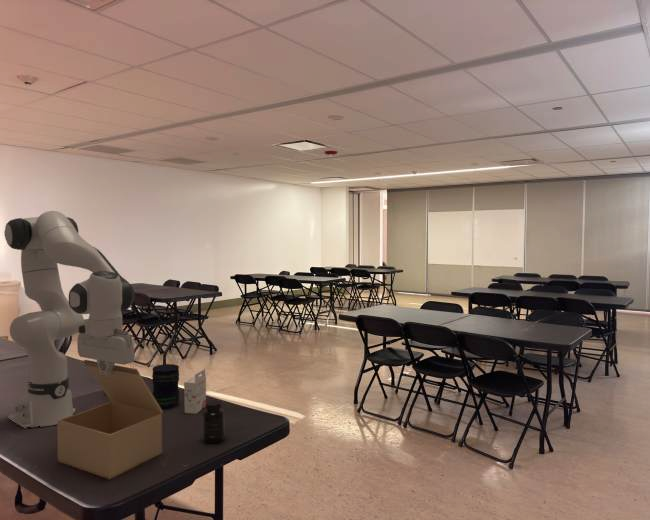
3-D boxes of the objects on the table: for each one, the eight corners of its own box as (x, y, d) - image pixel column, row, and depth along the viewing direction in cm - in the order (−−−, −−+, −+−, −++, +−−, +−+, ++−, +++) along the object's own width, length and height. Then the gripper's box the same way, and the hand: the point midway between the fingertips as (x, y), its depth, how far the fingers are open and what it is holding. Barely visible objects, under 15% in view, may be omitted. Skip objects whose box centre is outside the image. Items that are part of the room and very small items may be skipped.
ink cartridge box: (194, 405, 183) (194, 367, 182) (206, 406, 182) (206, 368, 181) (183, 413, 174) (183, 373, 174) (196, 414, 173) (196, 374, 173)
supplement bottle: (204, 435, 154) (204, 399, 154) (225, 434, 155) (225, 398, 154) (200, 444, 147) (200, 406, 147) (222, 443, 148) (222, 406, 148)
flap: (83, 361, 141) (85, 359, 142) (111, 401, 150) (112, 400, 151) (135, 370, 131) (136, 369, 132) (161, 413, 141) (163, 411, 141)
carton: (57, 461, 135) (57, 420, 134) (111, 438, 151) (111, 401, 150) (110, 479, 125) (110, 435, 124) (162, 453, 141) (161, 413, 141)
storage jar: (148, 410, 177) (148, 370, 177) (157, 401, 187) (157, 364, 187) (174, 410, 177) (174, 370, 177) (182, 401, 187) (182, 364, 187)
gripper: (140, 329, 133) (140, 377, 134) (92, 323, 143) (92, 368, 143) (121, 333, 128) (121, 383, 128) (73, 326, 137) (73, 373, 137)
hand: (105, 375), depth 136 cm, fingers closed, pressing on flap
